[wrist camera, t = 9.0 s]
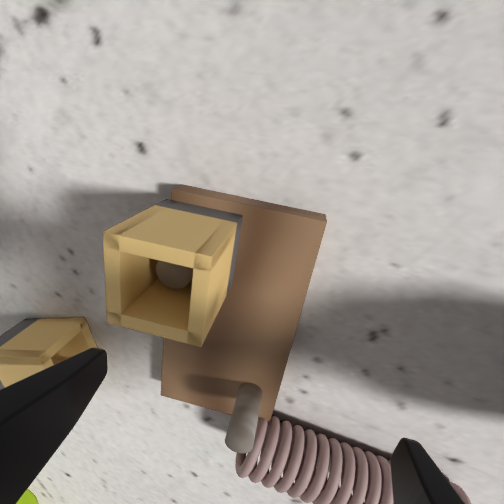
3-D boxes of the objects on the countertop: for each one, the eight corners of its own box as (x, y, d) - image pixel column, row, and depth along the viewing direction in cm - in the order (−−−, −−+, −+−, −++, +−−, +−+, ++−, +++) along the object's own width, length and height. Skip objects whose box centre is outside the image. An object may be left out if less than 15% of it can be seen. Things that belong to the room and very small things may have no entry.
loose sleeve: (232, 283, 19) (201, 347, 13) (163, 267, 19) (107, 322, 14) (242, 215, 17) (211, 256, 12) (167, 198, 17) (102, 231, 12)
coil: (225, 484, 23) (452, 571, 22) (240, 455, 20) (496, 552, 20) (239, 424, 27) (432, 497, 26) (253, 395, 24) (466, 474, 24)
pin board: (325, 214, 18) (332, 249, 13) (271, 409, 25) (261, 480, 20) (181, 184, 19) (135, 205, 14) (168, 380, 25) (134, 442, 20)
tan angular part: (-30, 356, 21) (38, 357, 20) (25, 318, 26) (84, 317, 24) (-2, 403, 23) (63, 406, 22) (46, 361, 27) (102, 361, 26)
